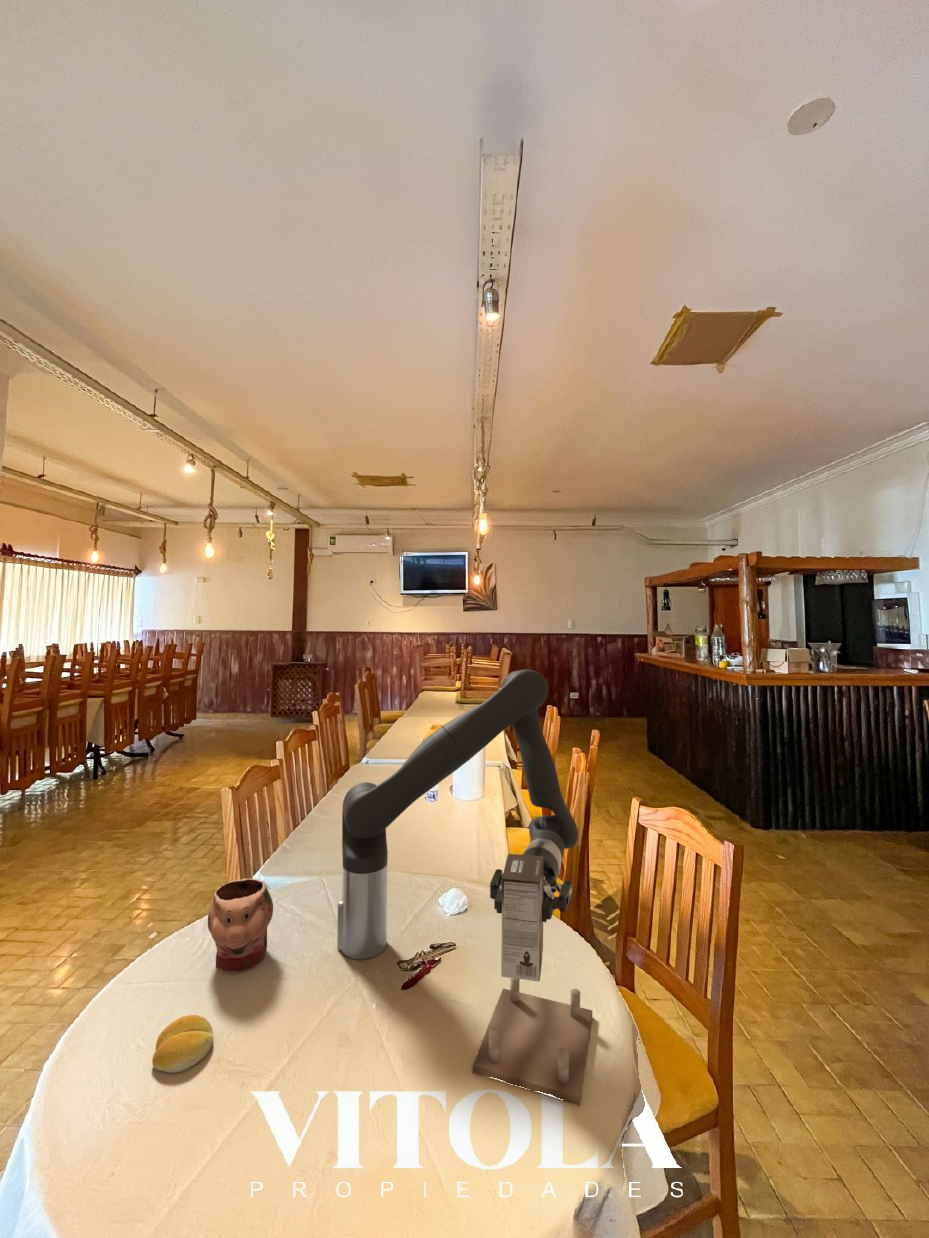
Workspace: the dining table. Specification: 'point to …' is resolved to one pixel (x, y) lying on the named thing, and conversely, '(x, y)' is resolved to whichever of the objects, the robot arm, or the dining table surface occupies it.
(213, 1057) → the dining table surface
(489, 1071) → the standoff plate
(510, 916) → the coffee box
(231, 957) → the decorative planter
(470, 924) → the dining table surface
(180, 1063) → the bread roll
